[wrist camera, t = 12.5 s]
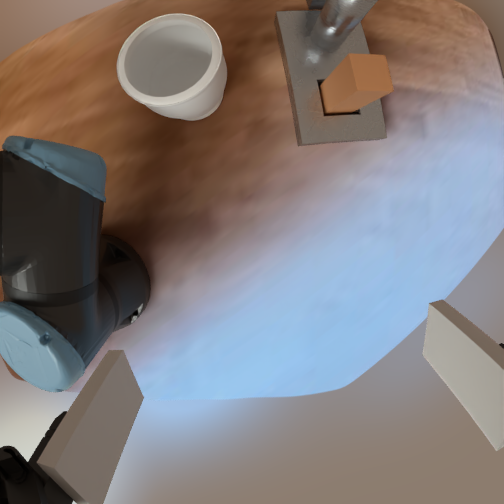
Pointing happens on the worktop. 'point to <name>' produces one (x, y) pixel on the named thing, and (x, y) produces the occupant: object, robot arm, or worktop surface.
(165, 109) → the jar
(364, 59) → the orange square bar
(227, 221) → the worktop surface
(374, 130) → the plate with square hole
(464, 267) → the worktop surface
